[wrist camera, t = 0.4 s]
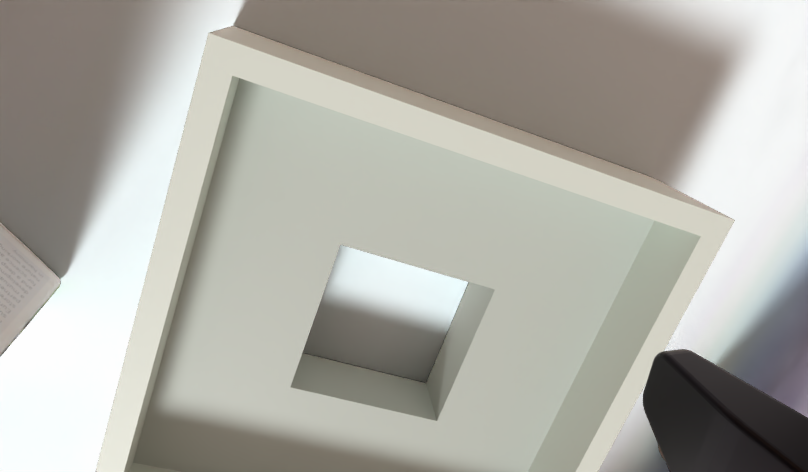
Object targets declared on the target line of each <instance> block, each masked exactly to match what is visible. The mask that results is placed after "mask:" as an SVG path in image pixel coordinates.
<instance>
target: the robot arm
mask: <svg viewBox="0 0 808 472" xmlns="http://www.w3.org/2000/svg"><path fill="white" fill-rule="evenodd" d="M643 406H644V410H645V413H646V416H647V418H648V420H649V423H650V425H651V428H652V430H653V432H654V435H655V437H656V440H657V442H658V445H659V447H660V449H661V452H662V454H663V457H664V459H665V461H666V464H667V466H668V469H669V471H670V472H808V418H807V417H805V416H804V415H802V414H800V413H798V412H797V411H795V410H793V409H791V408H790V407H788V406H786V405H784V404H783V403H781V402H779V401H777V400H776V399H774V398H772V397H771V396H769V395H767V394H765V393H764V392H762V391H760V390H758V389H757V388H755V387H753V386H751V385H750V384H748V383H746V382H744V381H743V380H741V379H739V378H737V377H736V376H734V375H732V374H730V373H729V372H727V371H725V370H723V369H722V368H720V367H718V366H717V365H715V364H713V363H711V362H710V361H708V360H706V359H704V358H703V357H701V356H699V355H697V354H696V353H694V352H692V351H690V350H685V349H680V350H672V351H663V352H660V353H658V354H657V355H656V356H655V358H654V360H653V363H652V366H651V370H650V373H649V376H648V379H647V383H646V386H645V389H644V393H643Z"/></svg>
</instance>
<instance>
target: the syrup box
mask: <svg viewBox="0 0 808 472" xmlns="http://www.w3.org/2000/svg"><path fill="white" fill-rule="evenodd" d="M60 284H61V281H60V279H59V278H58V277H57V276H56V274H55V273H54V272H53V271H52V270H51V269H49V268H48V267H47V266H46V265H45V264H44V263H43V262H42V261H41V260H40V259H39V258H38V257H37V256H36V255H35V254H34V253H33V252H32V251H31V250H30V249H29V248H28V247H27V246H25V245H24V244H23V243H22V242H21V241H20V240H19V239H18V238H17V237H16V236H15V235H13V234H12V233H11V232H10V231H9V230H8V229H7V228H6V227H5V226H4V225H3V224H1V223H0V356H1V355H2V354H3V353H4V352H5V351H6V350H7V348H8V347H9V346H10V345H11V343H12V342H13V341H14V340H15V339H16V338H17V337H18V335H19V334H20V333H21V332H22V331H23V330H24V328H25V327H26V326H27V325H28V324H29V322H30V321H31V320H32V319H33V318H34V316H35V315H36V314H37V313H38V311H39V310H40V309H41V308H42V307H43V306H44V305H45V303H46V302H47V301H48V300H49V299H50V297H51V296H52V295H53V294H54V292H55V291H56V290H57V289H58V288H59V286H60Z"/></svg>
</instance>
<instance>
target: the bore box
mask: <svg viewBox="0 0 808 472" xmlns="http://www.w3.org/2000/svg"><path fill="white" fill-rule="evenodd" d="M734 221H735V220H734V219H732V218H730V217H728V216H726V215H724V214H722V213H720V212H718V211H716V210H714V209H712V208H710V207H709V206H707V205H705V204H703V203H701V202H699V201H697V200H695V199H693V198H691V197H689V196H687V195H685V194H683V193H681V192H680V191H678V190H676V189H674V188H672V187H670V186H668V185H666V184H664V183H662V182H660V181H658V180H656V179H654V178H652V177H650V176H647V175H644V174H641V173H639V172H636V171H633V170H630V169H627V168H625V167H622V166H619V165H616V164H614V163H611V162H608V161H605V160H603V159H600V158H597V157H594V156H592V155H589V154H586V153H583V152H580V151H578V150H575V149H572V148H569V147H567V146H564V145H561V144H558V143H556V142H553V141H550V140H547V139H545V138H542V137H539V136H536V135H533V134H531V133H528V132H525V131H522V130H520V129H517V128H514V127H511V126H509V125H506V124H503V123H500V122H498V121H495V120H492V119H489V118H487V117H484V116H481V115H478V114H475V113H473V112H470V111H467V110H464V109H462V108H459V107H456V106H453V105H451V104H448V103H445V102H442V101H440V100H437V99H434V98H431V97H428V96H426V95H423V94H420V93H417V92H415V91H412V90H409V89H406V88H404V87H401V86H398V85H395V84H393V83H390V82H387V81H384V80H381V79H379V78H376V77H373V76H370V75H368V74H365V73H362V72H359V71H357V70H354V69H351V68H348V67H346V66H343V65H340V64H337V63H334V62H332V61H329V60H326V59H323V58H321V57H318V56H315V55H312V54H310V53H307V52H304V51H301V50H299V49H296V48H293V47H290V46H287V45H285V44H282V43H279V42H276V41H274V40H271V39H268V38H265V37H263V36H260V35H257V34H254V33H252V32H249V31H246V30H243V29H240V28H238V27H235V26H231V27H227V28H224V29H220V30H217V31H213V32H210V33H208V37H207V41H206V45H205V48H204V52H203V56H202V60H201V64H200V68H199V72H198V76H197V80H196V83H195V87H194V91H193V95H192V99H191V103H190V107H189V111H188V114H187V118H186V122H185V126H184V130H183V134H182V138H181V142H180V146H179V149H178V153H177V157H176V161H175V165H174V169H173V173H172V177H171V180H170V184H169V188H168V192H167V196H166V200H165V204H164V208H163V212H162V215H161V219H160V223H159V227H158V231H157V235H156V239H155V243H154V246H153V250H152V254H151V258H150V262H149V266H148V270H147V274H146V278H145V281H144V285H143V289H142V293H141V297H140V301H139V305H138V309H137V312H136V316H135V320H134V324H133V328H132V332H131V336H130V340H129V343H128V347H127V351H126V355H125V359H124V363H123V367H122V371H121V375H120V378H119V382H118V386H117V390H116V394H115V398H114V402H113V406H112V409H111V413H110V417H109V421H108V425H107V429H106V433H105V437H104V441H103V444H102V448H101V452H100V456H99V460H98V464H97V468H96V472H598V471H599V469H600V467H601V465H602V463H603V461H604V460H605V458H606V456H607V454H608V452H609V450H610V449H611V447H612V445H613V443H614V441H615V439H616V438H617V436H618V434H619V432H620V430H621V428H622V427H623V425H624V423H625V421H626V419H627V417H628V416H629V414H630V412H631V410H632V408H633V406H634V405H635V403H636V401H637V399H638V397H639V395H640V394H641V392H642V390H643V388H644V386H645V384H646V383H647V379H648V376H649V373H650V370H651V366H652V363H653V360H654V358H655V356H656V355H657V354H658V353H660V352H663V351H664V350H665V348H666V346H667V344H668V342H669V340H670V338H671V337H672V335H673V333H674V331H675V329H676V327H677V326H678V324H679V322H680V320H681V318H682V316H683V315H684V313H685V311H686V309H687V307H688V305H689V304H690V302H691V300H692V298H693V296H694V294H695V293H696V291H697V289H698V287H699V285H700V283H701V282H702V280H703V278H704V276H705V274H706V272H707V271H708V269H709V267H710V265H711V263H712V261H713V260H714V258H715V256H716V254H717V252H718V250H719V249H720V247H721V245H722V243H723V241H724V239H725V238H726V236H727V234H728V232H729V230H730V228H731V227H732V225H733V223H734ZM340 245H343V246H347V247H350V248H354V249H357V250H361V251H364V252H367V253H371V254H374V255H378V256H381V257H385V258H388V259H392V260H395V261H398V262H402V263H405V264H409V265H412V266H416V267H419V268H423V269H426V270H429V271H433V272H436V273H440V274H443V275H447V276H450V277H453V278H457V279H460V280H464V281H467V282H469V283H468V286H467V288H466V290H465V293H464V295H463V297H462V300H461V302H460V304H459V307H458V309H457V311H456V314H455V316H454V318H453V321H452V323H451V326H450V328H449V330H448V333H447V335H446V337H445V340H444V342H443V344H442V347H441V349H440V351H439V354H438V356H437V358H436V361H435V363H434V366H433V368H432V370H431V373H430V375H429V377H428V380H427V382H426V383H423V382H419V381H415V380H411V379H407V378H403V377H399V376H395V375H390V374H386V373H382V372H378V371H374V370H370V369H366V368H362V367H358V366H354V365H350V364H345V363H341V362H337V361H333V360H329V359H325V358H321V357H317V356H313V355H309V354H305V353H303V350H304V347H305V344H306V341H307V338H308V336H309V333H310V330H311V327H312V324H313V321H314V319H315V316H316V313H317V310H318V307H319V304H320V302H321V299H322V296H323V293H324V290H325V287H326V285H327V282H328V279H329V276H330V273H331V270H332V267H333V265H334V262H335V259H336V256H337V253H338V250H339V248H340Z"/></svg>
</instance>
